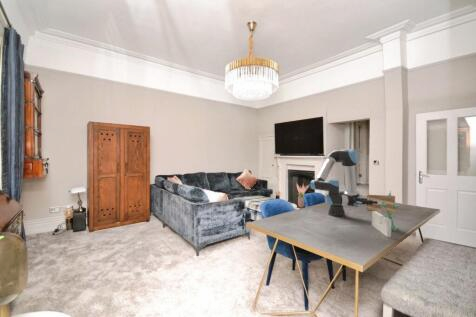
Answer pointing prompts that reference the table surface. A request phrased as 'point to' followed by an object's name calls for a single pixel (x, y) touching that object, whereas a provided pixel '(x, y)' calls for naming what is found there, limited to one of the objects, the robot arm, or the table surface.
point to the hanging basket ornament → (391, 215)
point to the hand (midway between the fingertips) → (380, 202)
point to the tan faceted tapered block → (385, 200)
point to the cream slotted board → (381, 223)
